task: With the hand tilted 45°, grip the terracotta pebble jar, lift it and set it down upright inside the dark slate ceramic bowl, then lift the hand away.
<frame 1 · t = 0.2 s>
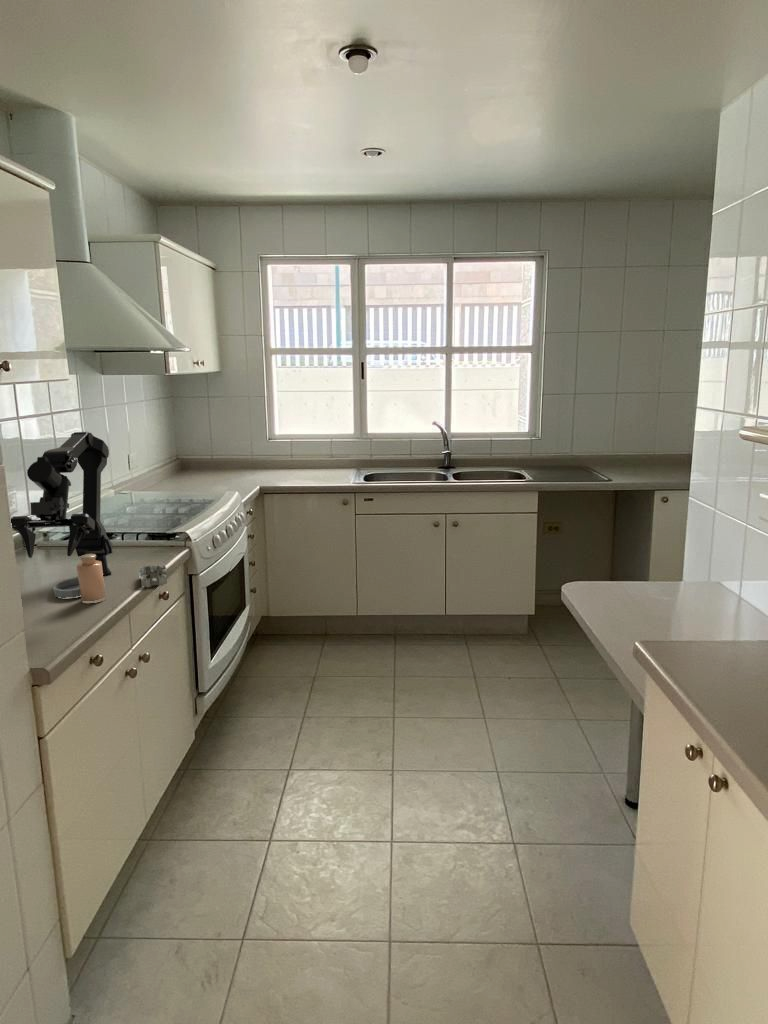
hand: (49, 556, 165), 15 cm above the table, tool tilted 35°, fingers open, 9 cm apart
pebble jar: (94, 600, 177), on the table
egg carton: (154, 582, 191), on the table
slate bowl: (76, 592, 183), on the table
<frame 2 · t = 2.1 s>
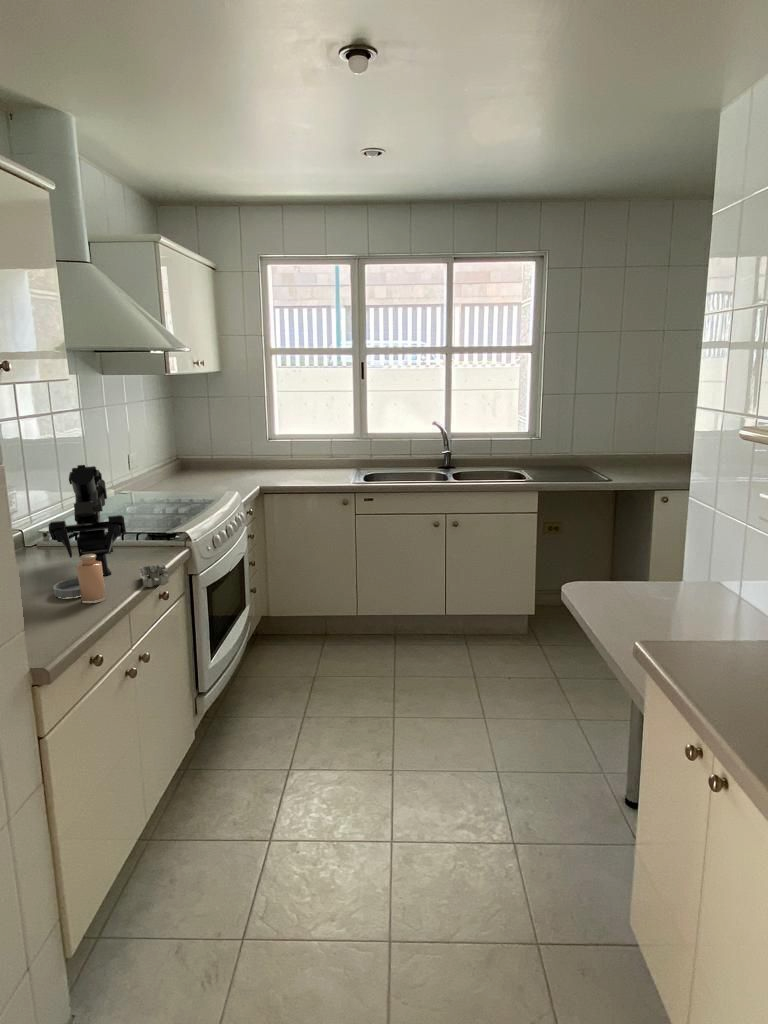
hand: (89, 554, 179), 11 cm above the table, tool tilted 45°, fingers open, 9 cm apart
nothing on the table moved.
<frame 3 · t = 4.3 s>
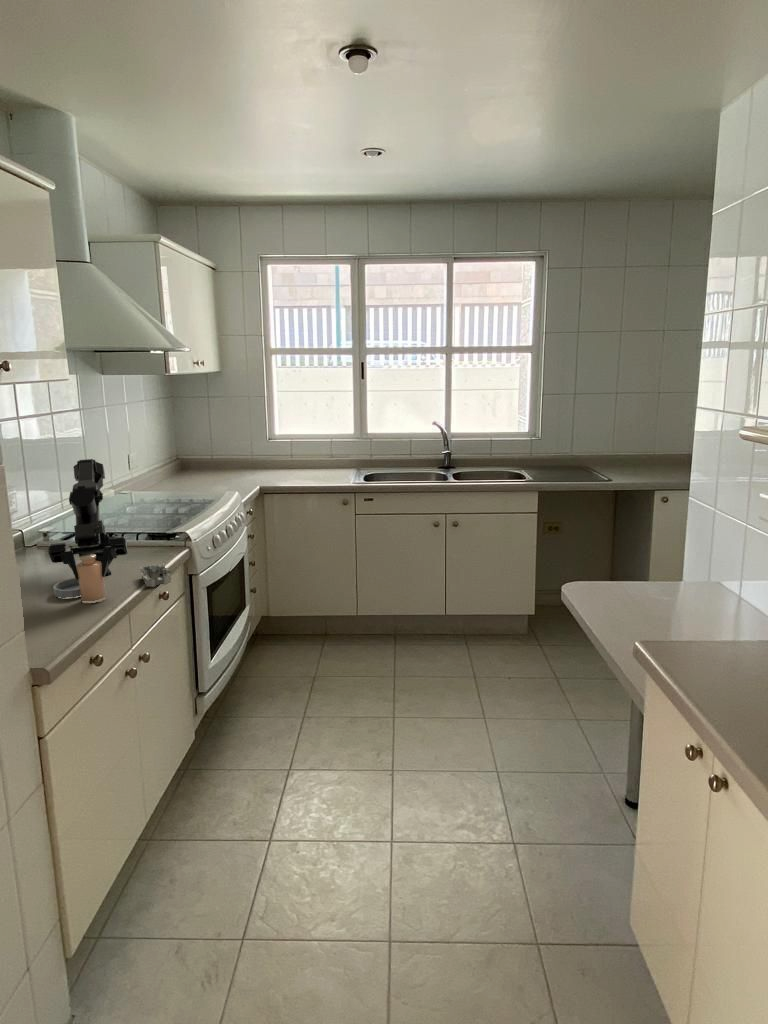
hand: (90, 577, 174), 7 cm above the table, tool tilted 45°, fingers closed on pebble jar, 6 cm apart
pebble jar: (94, 600, 177), on the table, touching gripper
everything else where it was.
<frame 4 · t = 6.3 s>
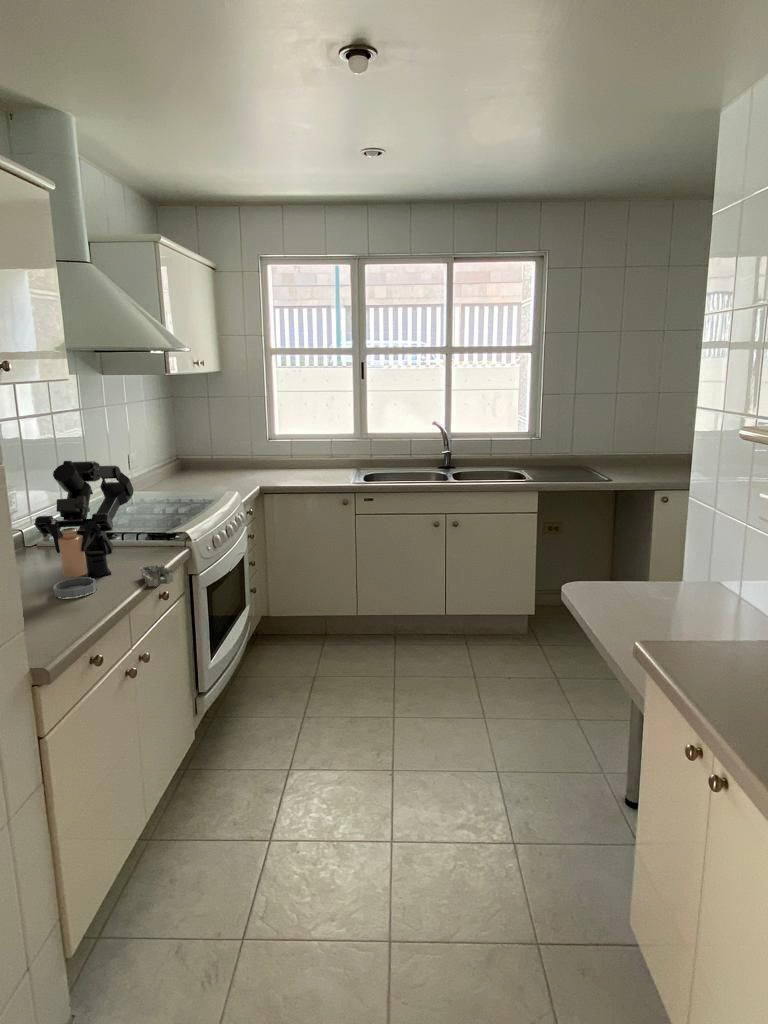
hand: (70, 551, 178), 12 cm above the table, tool tilted 45°, fingers closed on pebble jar, 6 cm apart
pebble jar: (75, 573, 181), point 6 cm above the table, touching gripper
when the fingers open (8 cm above the table, at t = 8.3 s): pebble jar stays where it is, resting on slate bowl.
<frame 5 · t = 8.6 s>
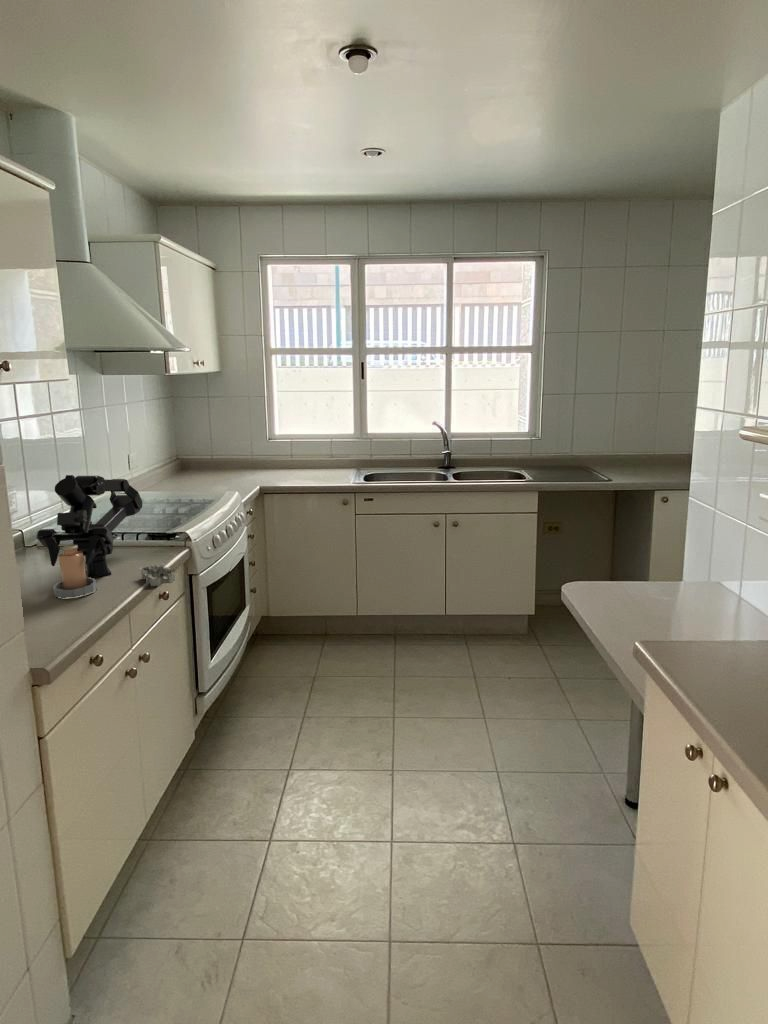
hand: (69, 564, 180), 8 cm above the table, tool tilted 45°, fingers open, 9 cm apart
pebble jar: (75, 589, 183), point 1 cm above the table, touching slate bowl
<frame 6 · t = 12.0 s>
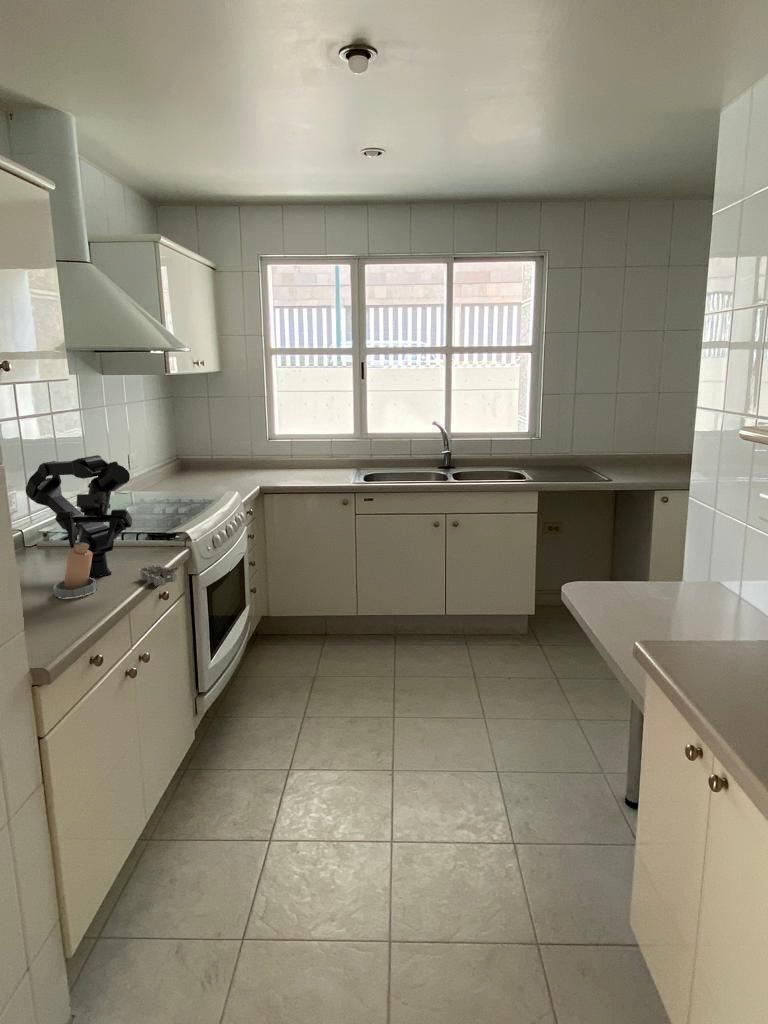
hand: (89, 546, 179), 13 cm above the table, tool tilted 45°, fingers open, 9 cm apart
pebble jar: (75, 586, 183), point 2 cm above the table, tilted 15°, touching gripper, slate bowl
at the end: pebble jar 0.1 cm off-centre on the slate bowl, point 1.6 cm above the slate bowl's base; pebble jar tilted 15°; the gripper is holding nothing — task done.
